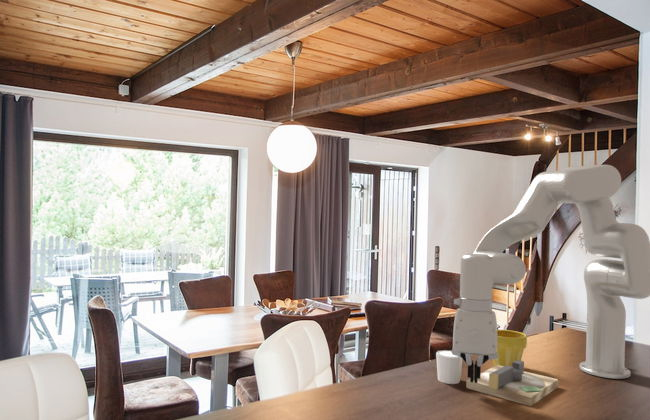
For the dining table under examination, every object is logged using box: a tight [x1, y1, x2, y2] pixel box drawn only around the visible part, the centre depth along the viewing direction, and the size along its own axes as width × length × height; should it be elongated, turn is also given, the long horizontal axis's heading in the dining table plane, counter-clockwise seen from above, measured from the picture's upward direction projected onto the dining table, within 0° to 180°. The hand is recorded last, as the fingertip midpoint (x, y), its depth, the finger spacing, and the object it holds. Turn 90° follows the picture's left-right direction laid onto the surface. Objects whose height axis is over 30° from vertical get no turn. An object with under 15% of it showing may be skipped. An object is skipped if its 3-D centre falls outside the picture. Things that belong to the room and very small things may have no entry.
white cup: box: [435, 349, 464, 385], centre depth 131 cm, size 7×7×7 cm
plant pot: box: [492, 329, 528, 367], centre depth 143 cm, size 10×10×10 cm
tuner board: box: [466, 365, 559, 407], centre depth 127 cm, size 18×16×2 cm
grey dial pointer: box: [489, 360, 525, 389], centre depth 125 cm, size 16×4×3 cm, turn 137°
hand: (473, 380), depth 122 cm, fingers closed
